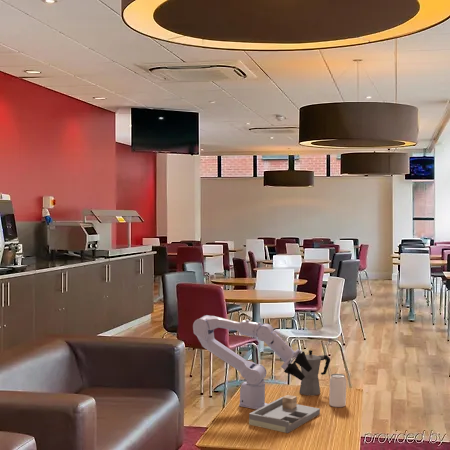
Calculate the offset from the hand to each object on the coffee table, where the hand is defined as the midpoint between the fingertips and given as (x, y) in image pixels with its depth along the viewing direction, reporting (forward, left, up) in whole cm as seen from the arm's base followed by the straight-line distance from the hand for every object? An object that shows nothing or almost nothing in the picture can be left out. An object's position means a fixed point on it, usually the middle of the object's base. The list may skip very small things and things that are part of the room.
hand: (306, 374), depth 284 cm
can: (+7, +15, -15) cm, 22 cm away
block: (-5, -4, -13) cm, 14 cm away
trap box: (-2, -12, -15) cm, 19 cm away
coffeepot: (-9, +25, -15) cm, 30 cm away
